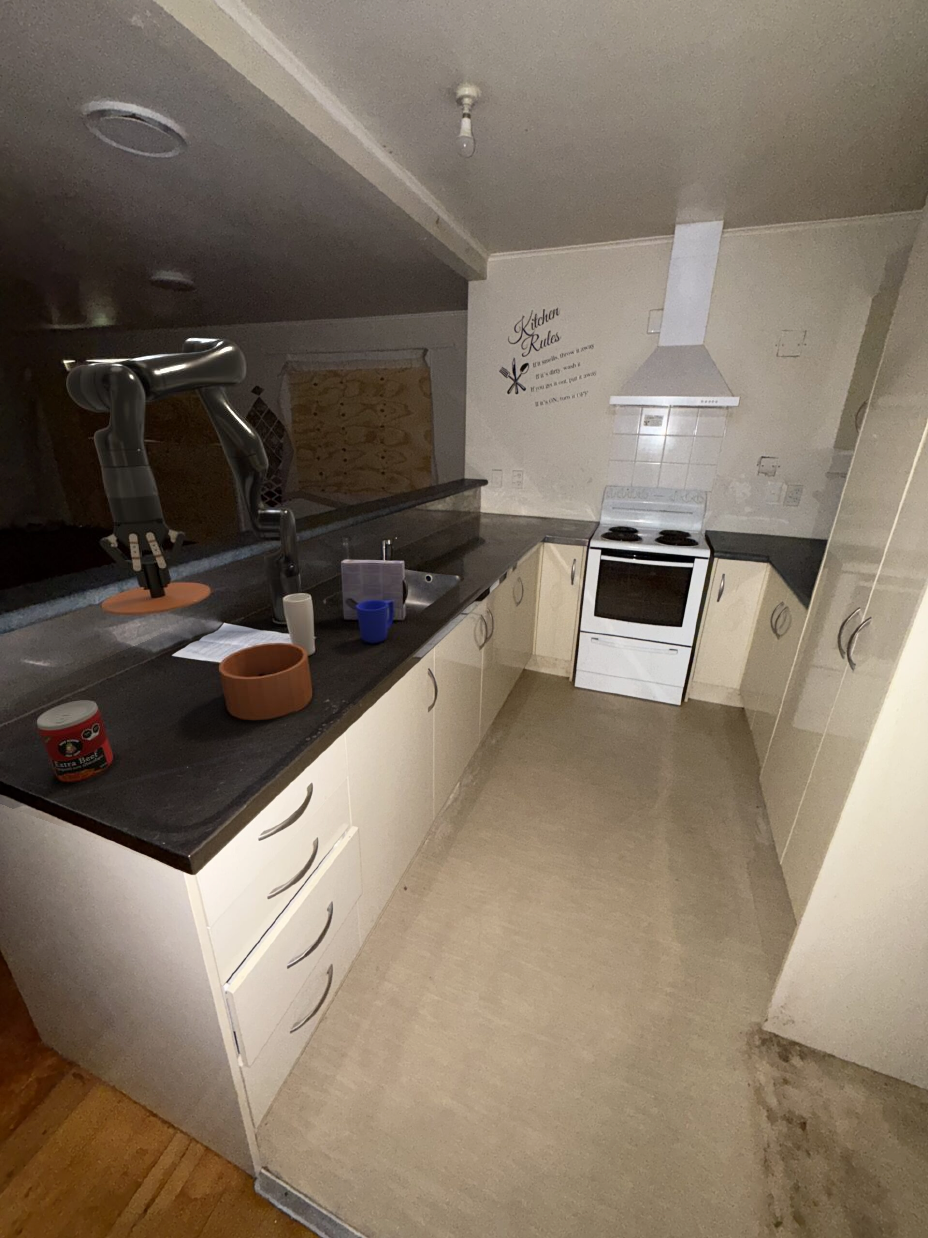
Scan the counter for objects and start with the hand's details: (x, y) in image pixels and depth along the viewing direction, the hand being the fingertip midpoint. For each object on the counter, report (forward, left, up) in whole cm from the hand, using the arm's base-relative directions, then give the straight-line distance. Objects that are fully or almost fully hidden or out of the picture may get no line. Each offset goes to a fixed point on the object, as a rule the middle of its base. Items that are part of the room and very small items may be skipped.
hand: (156, 587), depth 91 cm
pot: (+6, +16, -25) cm, 31 cm away
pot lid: (0, 0, -2) cm, 2 cm away
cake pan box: (-31, +50, -26) cm, 64 cm away
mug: (-16, +46, -26) cm, 56 cm away
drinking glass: (-15, +26, -26) cm, 40 cm away
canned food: (+16, -14, -26) cm, 33 cm away
